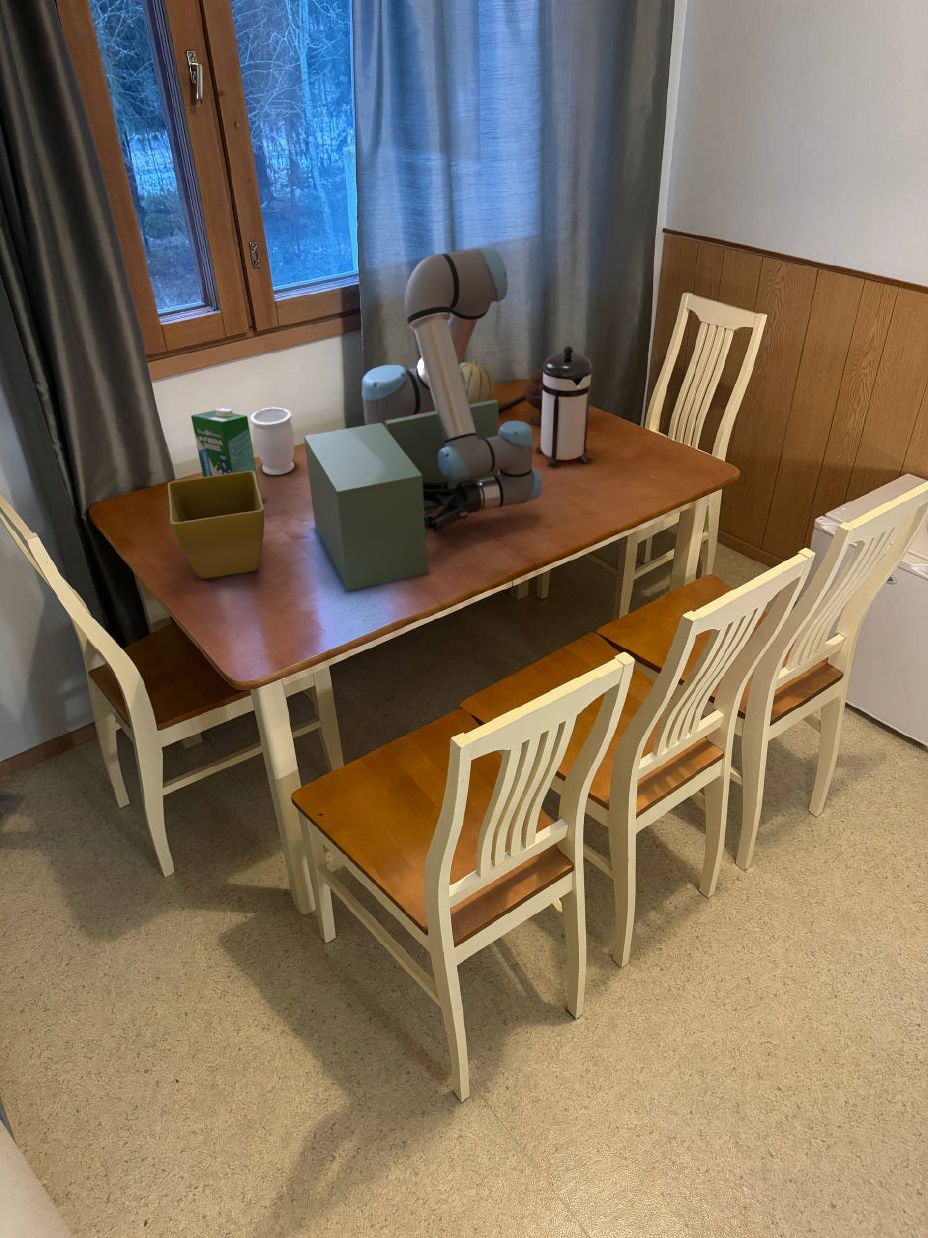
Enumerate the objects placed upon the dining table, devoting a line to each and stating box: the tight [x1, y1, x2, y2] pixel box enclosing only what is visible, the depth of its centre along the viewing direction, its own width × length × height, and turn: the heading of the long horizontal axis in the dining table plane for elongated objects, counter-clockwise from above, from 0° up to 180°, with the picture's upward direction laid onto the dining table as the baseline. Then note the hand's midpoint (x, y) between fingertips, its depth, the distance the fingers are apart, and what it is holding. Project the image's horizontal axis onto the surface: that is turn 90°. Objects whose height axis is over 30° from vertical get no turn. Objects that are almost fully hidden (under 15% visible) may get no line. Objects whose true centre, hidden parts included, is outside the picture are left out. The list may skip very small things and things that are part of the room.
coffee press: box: [536, 346, 594, 468], centre depth 241 cm, size 17×16×30 cm
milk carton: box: [190, 407, 261, 493], centre depth 222 cm, size 9×9×25 cm
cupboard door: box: [385, 398, 499, 509], centre depth 225 cm, size 8×28×24 cm, turn 114°
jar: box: [249, 407, 295, 476], centre depth 241 cm, size 11×10×15 cm
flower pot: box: [167, 471, 265, 580], centre depth 204 cm, size 19×19×17 cm
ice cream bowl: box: [522, 368, 543, 427], centre depth 262 cm, size 11×11×15 cm
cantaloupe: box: [459, 358, 496, 404], centre depth 269 cm, size 15×15×15 cm
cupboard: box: [303, 423, 428, 592], centre depth 204 cm, size 18×28×24 cm, turn 21°
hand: (388, 512), depth 208 cm, fingers open, 13 cm apart
